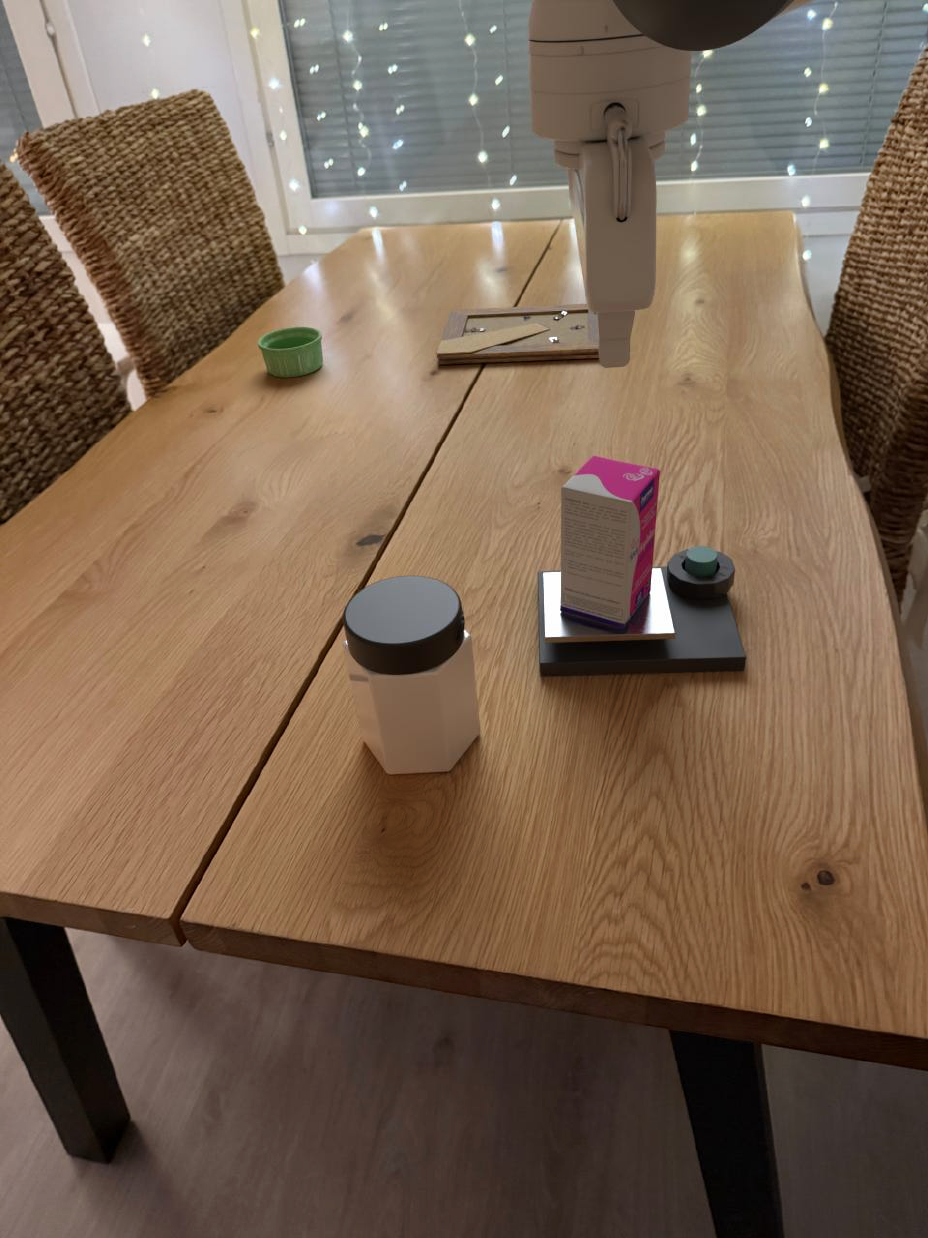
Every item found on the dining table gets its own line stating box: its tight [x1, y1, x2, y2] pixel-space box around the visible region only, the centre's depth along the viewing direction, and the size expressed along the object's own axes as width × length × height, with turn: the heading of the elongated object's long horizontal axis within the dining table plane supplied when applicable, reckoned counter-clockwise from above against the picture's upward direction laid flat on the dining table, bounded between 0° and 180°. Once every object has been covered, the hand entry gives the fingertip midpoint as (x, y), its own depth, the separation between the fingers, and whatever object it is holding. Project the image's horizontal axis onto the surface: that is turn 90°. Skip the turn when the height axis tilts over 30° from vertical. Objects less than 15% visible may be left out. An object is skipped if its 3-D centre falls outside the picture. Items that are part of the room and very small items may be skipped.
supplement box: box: [560, 455, 661, 628], centre depth 71 cm, size 6×6×12 cm
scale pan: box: [543, 568, 675, 643], centre depth 75 cm, size 10×9×1 cm
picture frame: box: [436, 303, 599, 365], centre depth 133 cm, size 19×2×24 cm
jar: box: [342, 575, 481, 775], centre depth 66 cm, size 9×8×12 cm
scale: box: [537, 548, 747, 677], centre depth 77 cm, size 17×13×3 cm
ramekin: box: [257, 326, 324, 378], centre depth 131 cm, size 9×9×4 cm
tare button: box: [685, 545, 718, 576], centre depth 79 cm, size 3×3×2 cm
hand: (608, 335), depth 60 cm, fingers open, 8 cm apart
